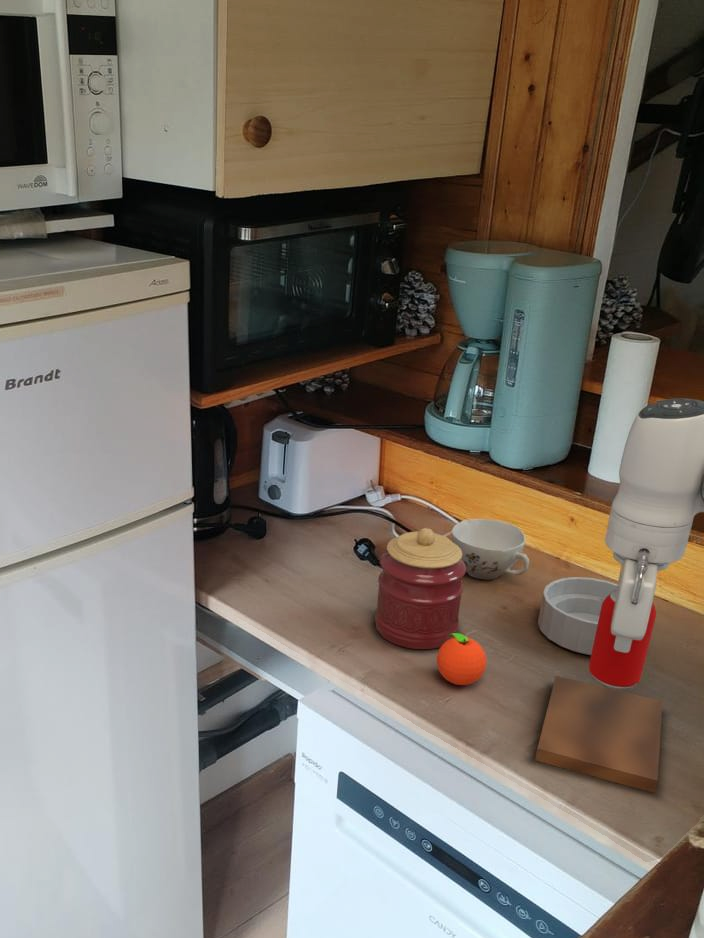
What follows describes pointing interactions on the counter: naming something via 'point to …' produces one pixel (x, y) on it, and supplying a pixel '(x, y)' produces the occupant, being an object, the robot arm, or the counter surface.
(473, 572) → the teacup
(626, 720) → the cutting board
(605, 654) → the beverage can
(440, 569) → the kitchen canister
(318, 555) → the counter surface
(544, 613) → the grey round bowl
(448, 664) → the clementine
